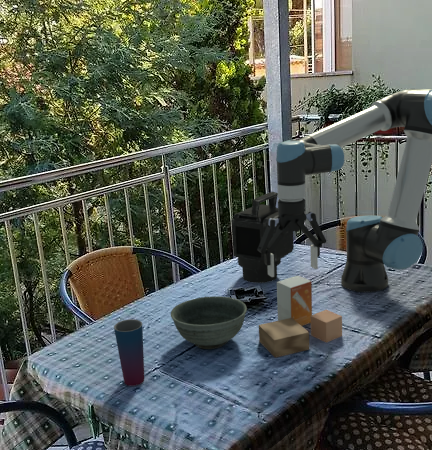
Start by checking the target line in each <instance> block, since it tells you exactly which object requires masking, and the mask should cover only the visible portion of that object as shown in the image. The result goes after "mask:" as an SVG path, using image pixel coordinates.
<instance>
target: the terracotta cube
mask: <svg viewBox="0 0 432 450" xmlns="http://www.w3.org/2000/svg"><path fill="white" fill-rule="evenodd" d="M310 336H311V337H314V338H316V339H318V340H320V341H322V342H324V343H329V342H331V341H334V340H336V339H337V340H338V338H341V337H343V316H342V315H341V314H338V313H335V312H333V311H332V310H331V311H330V310H328V309H324V310H322V311H319V312H317V313H314V314H312V315H311V323H310Z"/></svg>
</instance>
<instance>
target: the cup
mask: <svg viewBox="0 0 432 450" xmlns="http://www.w3.org/2000/svg"><path fill="white" fill-rule="evenodd" d="M113 329H114V331H113V332H114V335H115V341H116V345H117V350H118V357H119V361H120V368H121V371H122V377H123V383H124V384H125V385H126V386H129V387H134V386H139V385H141V384H143V383H144V382H145V361H144V360H145V359H144V358H145V355H144V338H143V337H144V335H143V332H144V331H143V321H141V320H139V319H133V318H132V319H123V320H121V321H118V322H117V323H115V324H114V326H113Z"/></svg>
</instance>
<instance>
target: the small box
mask: <svg viewBox="0 0 432 450" xmlns="http://www.w3.org/2000/svg"><path fill="white" fill-rule="evenodd" d="M312 286H313V285H312V280H310V279H307V278H306V277H302V276H300V275H296V276H292V277H287V278H285V279H283V280H279V281H276V298H277V299H276V305H277V309H276V310H277V321H279V320H284V319H288V318H293V319H294V320H295V321H296V322H297V323H299V324H300V325H301V326H302V327H303V326H306V325H308V324H309V325H310V324H311V315H313V295H312V294H313V293H312V289H313V287H312Z"/></svg>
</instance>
